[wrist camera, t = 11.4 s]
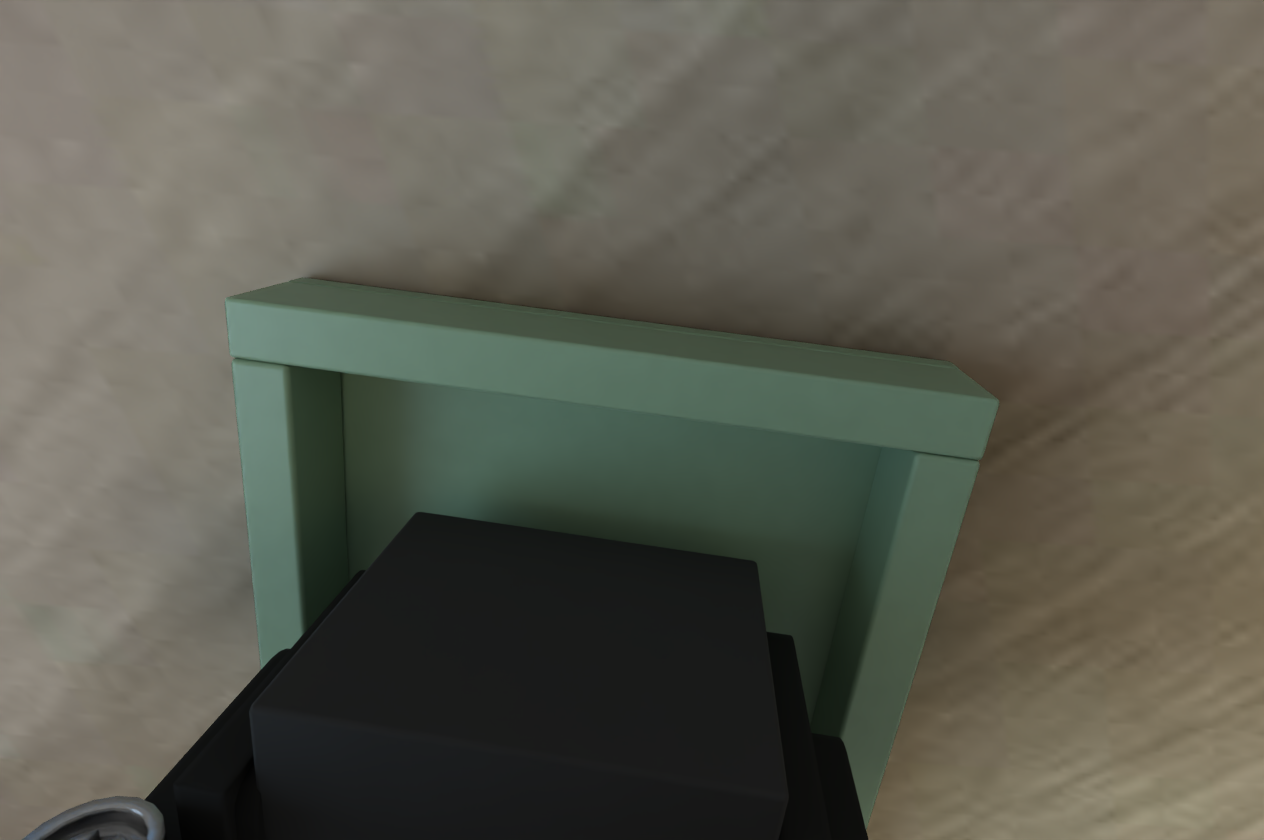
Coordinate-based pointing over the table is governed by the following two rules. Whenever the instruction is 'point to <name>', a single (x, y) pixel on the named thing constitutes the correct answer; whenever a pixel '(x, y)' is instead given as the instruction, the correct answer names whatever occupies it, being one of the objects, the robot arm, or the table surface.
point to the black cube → (527, 696)
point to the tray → (612, 464)
